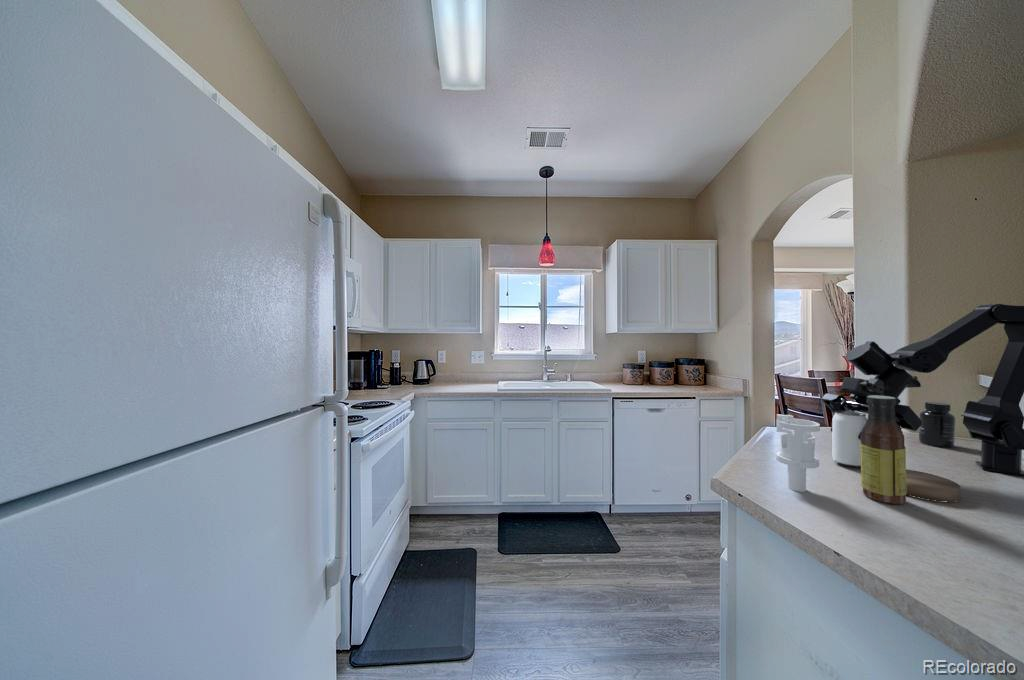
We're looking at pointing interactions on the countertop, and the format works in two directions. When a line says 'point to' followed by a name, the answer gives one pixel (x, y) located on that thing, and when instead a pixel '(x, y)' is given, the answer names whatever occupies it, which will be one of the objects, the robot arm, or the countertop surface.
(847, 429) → the can
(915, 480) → the walnut stand
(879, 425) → the sauce bottle
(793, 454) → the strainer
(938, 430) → the supplement bottle
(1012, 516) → the countertop surface
